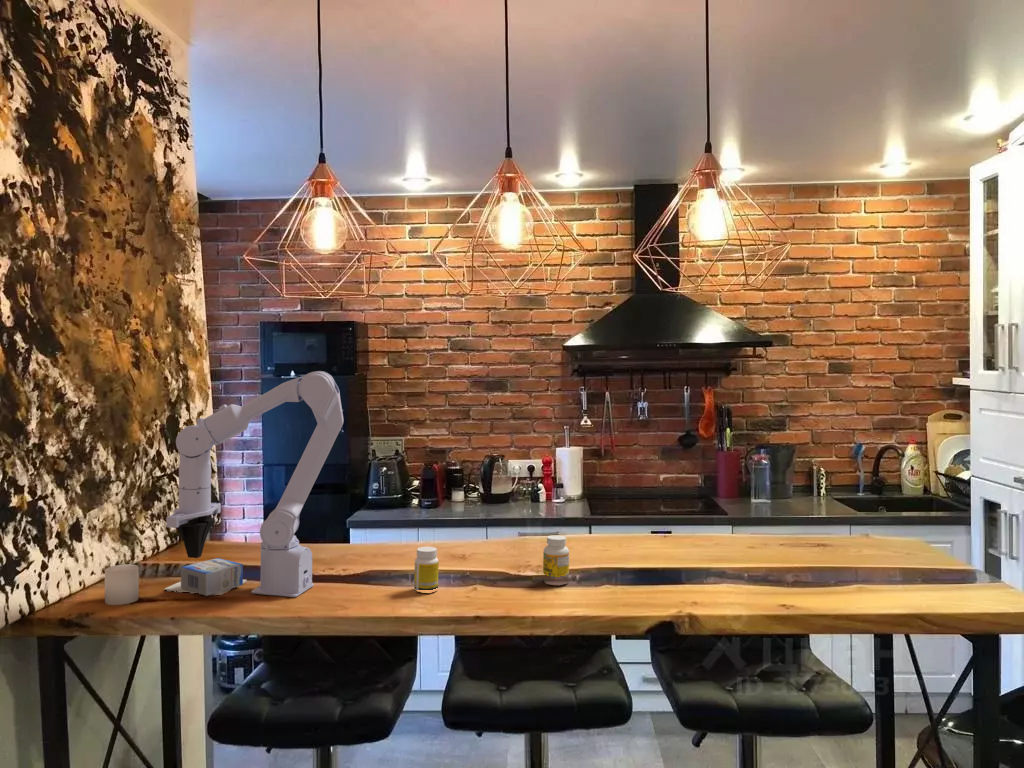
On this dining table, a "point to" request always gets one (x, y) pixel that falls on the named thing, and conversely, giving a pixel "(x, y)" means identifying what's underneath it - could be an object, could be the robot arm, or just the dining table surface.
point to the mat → (178, 588)
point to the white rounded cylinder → (121, 584)
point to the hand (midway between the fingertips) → (194, 556)
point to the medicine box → (211, 576)
